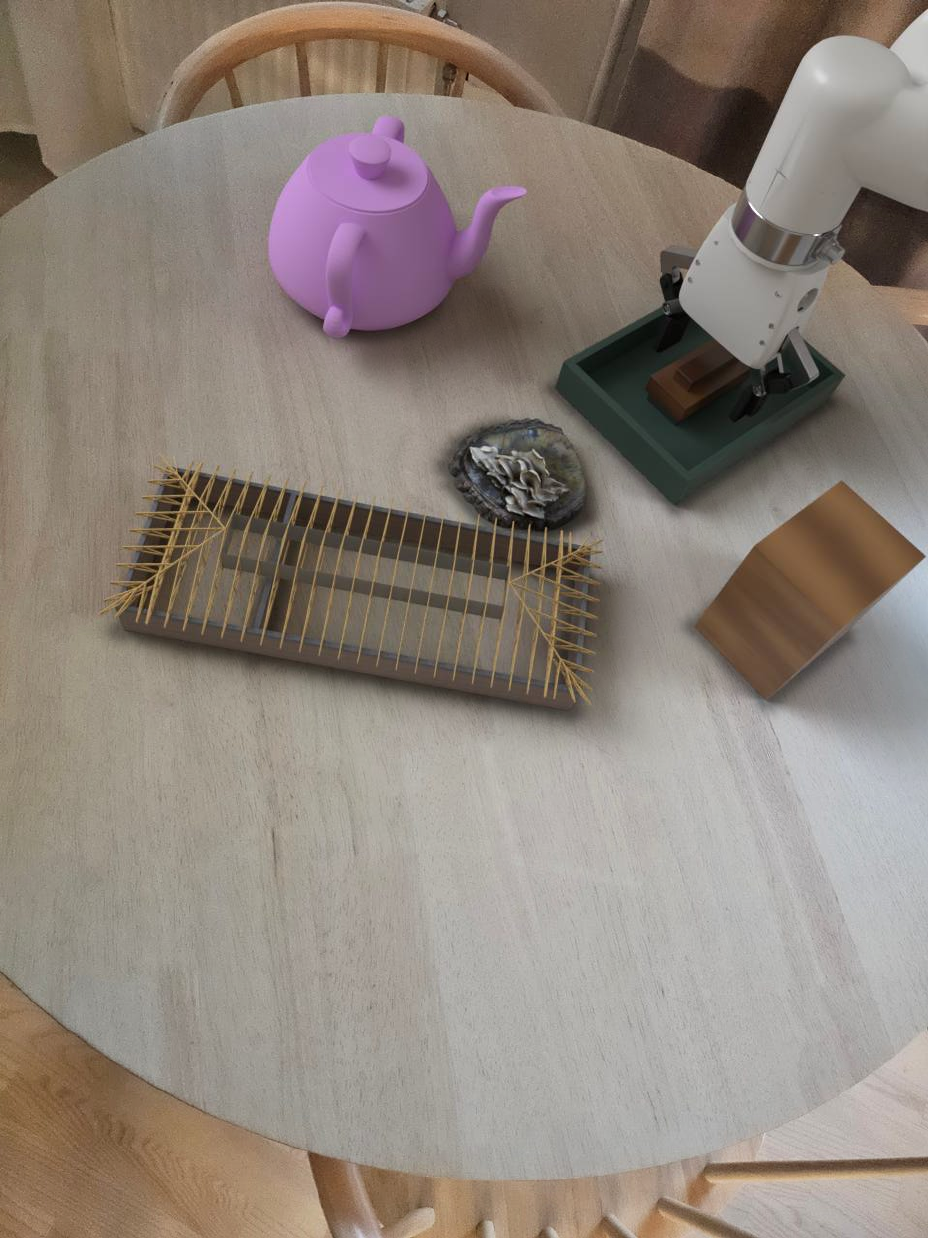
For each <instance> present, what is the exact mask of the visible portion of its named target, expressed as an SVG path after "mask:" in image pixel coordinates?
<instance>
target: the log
mask: <svg viewBox="0 0 928 1238" xmlns="http://www.w3.org/2000/svg"><path fill="white" fill-rule="evenodd" d="M451 456H452V457H451V459H452V460H453V461H452V462H451V463H448V464H447V468H448V472H449V474H450V475H451V476H453V477H454V481H453V486H454V487H455V489H457V490H459V491H460V492H462V496H463V499H464V500H465V501H466V502H468V503H470V504H471V505H472V506H473V508H474V509H475V511H476V512H477V513H478V515H480V517H481V518H483V519H485V520H486V521H488V522H490V523H491V524H493V525H495V519H496V518H497V521H496V526H499V527H501V528H504V529H505V528H506V529H512V524H513V521H514V528H513V529H515V530H516V529H517V530H528V529H529V524H530V531H536V532H541V531H543V532H545V528H546V527H547V532H549V531H554V530H557V529H560V528H561V527H563V526H565V525H567V524H569V523H571V522H573V521H575V520H577V518H579V517H580V515H582V513H583V511H584V508H585V500H586V495H587V488H586V480H585V476H584V474H583V473H584V472H583V469H582V466H581V462H580V460H579V457H578V454H577V452H576V451H575V448H574V446H573V444H572V443H571V442H570V440H569V438H568V437H567V435H565V434H564V432H563V429H562V427H561V426H555V425H554V424H553V423H546V422H544V421H542V420H541V419H540V418H537V417H535V418H534V419H531V418H530V417H526V418H524V419H514V418H513V419H509V420H508V421H507V422H503V423H495V424H493V425H491V426H490V427H487V426H481V427H479V428H478V429H477V430H476V431H475V432H474V434H473V435H472V434H471V435H470V434H469V435H467V436H465V437H464V438H463V439H462V440H461V441H460V442H459V443H458V449H457V450H456V451H455V452H454V453H453V454H452V455H451Z"/></svg>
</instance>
